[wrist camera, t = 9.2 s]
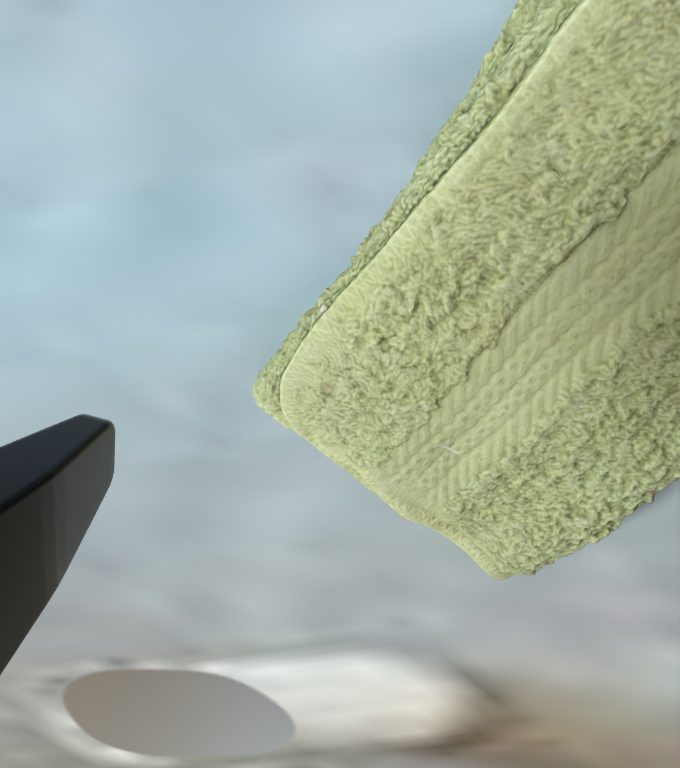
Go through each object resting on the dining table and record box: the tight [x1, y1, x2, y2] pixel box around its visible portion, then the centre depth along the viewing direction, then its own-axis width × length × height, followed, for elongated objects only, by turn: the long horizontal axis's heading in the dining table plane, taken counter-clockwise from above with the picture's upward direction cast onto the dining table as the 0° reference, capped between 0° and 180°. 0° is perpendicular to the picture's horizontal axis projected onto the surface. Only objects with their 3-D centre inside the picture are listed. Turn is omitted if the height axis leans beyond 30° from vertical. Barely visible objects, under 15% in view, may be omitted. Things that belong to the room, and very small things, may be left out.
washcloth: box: [252, 0, 680, 580], centre depth 18 cm, size 13×18×3 cm
